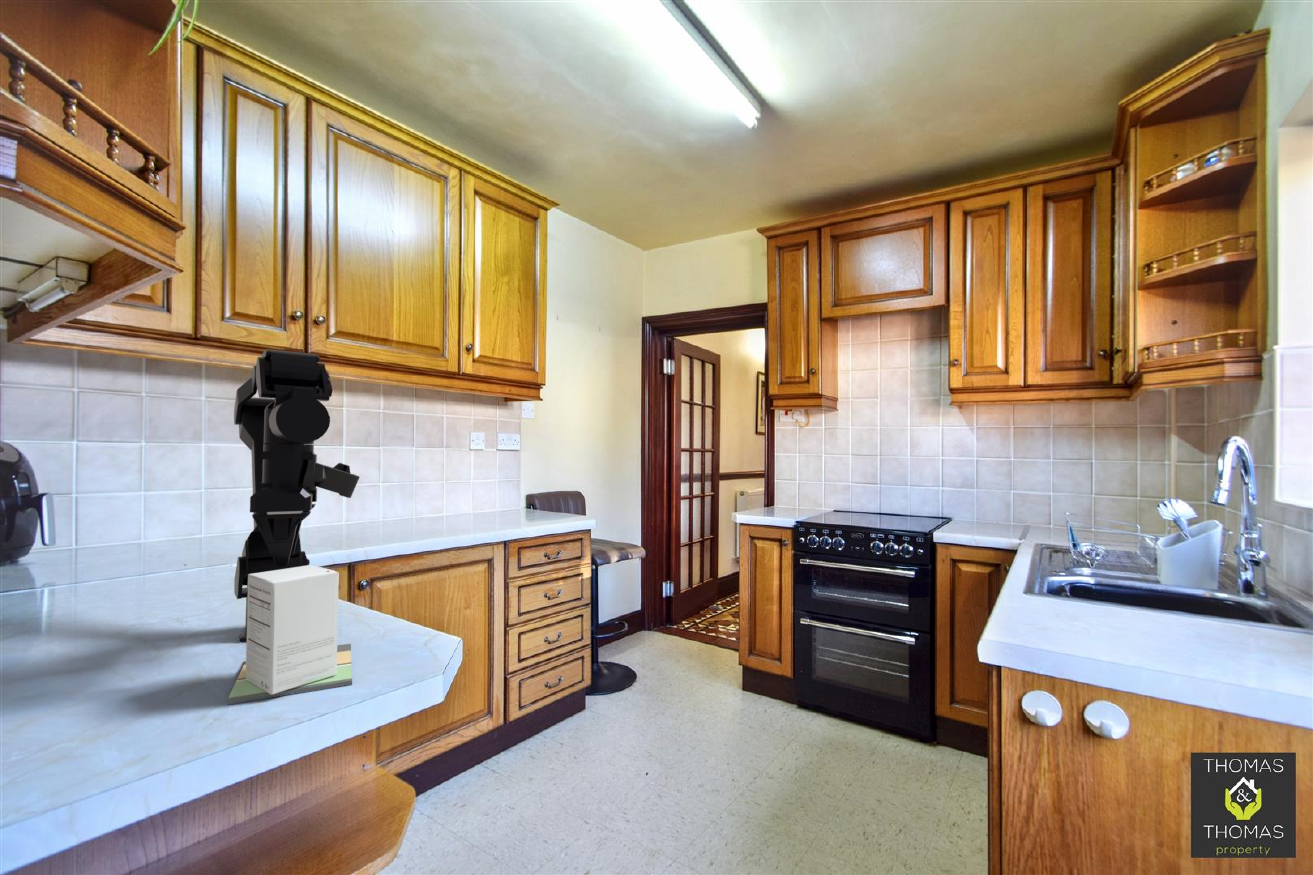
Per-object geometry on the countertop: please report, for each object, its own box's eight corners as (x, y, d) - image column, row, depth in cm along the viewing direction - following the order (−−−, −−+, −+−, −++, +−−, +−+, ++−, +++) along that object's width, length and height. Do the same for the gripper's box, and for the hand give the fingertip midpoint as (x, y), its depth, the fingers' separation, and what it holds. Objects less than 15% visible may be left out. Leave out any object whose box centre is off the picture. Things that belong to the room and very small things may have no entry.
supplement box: (310, 662, 74) (313, 563, 74) (338, 676, 69) (341, 570, 70) (243, 680, 68) (246, 572, 68) (268, 696, 63) (272, 581, 64)
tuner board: (247, 660, 76) (248, 656, 76) (350, 647, 81) (350, 642, 81) (227, 704, 63) (227, 698, 63) (351, 684, 68) (352, 679, 68)
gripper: (357, 444, 73) (354, 567, 72) (355, 446, 89) (353, 547, 89) (251, 442, 68) (247, 575, 67) (269, 445, 84) (266, 552, 83)
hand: (285, 560), depth 77 cm, fingers open, 9 cm apart
